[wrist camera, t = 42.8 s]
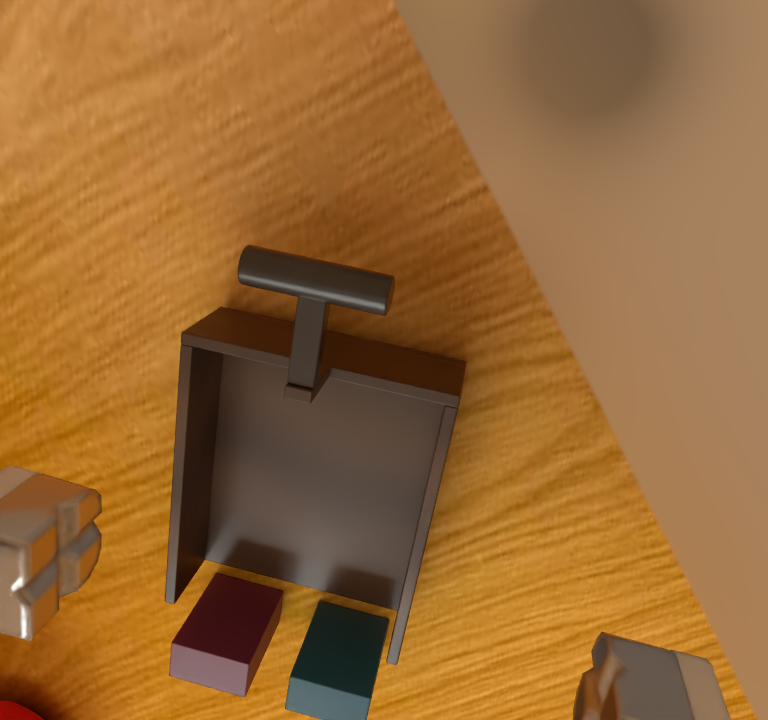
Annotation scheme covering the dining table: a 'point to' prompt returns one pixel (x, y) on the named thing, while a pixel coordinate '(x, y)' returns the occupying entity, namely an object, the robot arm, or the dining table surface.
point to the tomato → (16, 712)
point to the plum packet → (226, 635)
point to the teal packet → (337, 664)
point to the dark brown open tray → (309, 441)
